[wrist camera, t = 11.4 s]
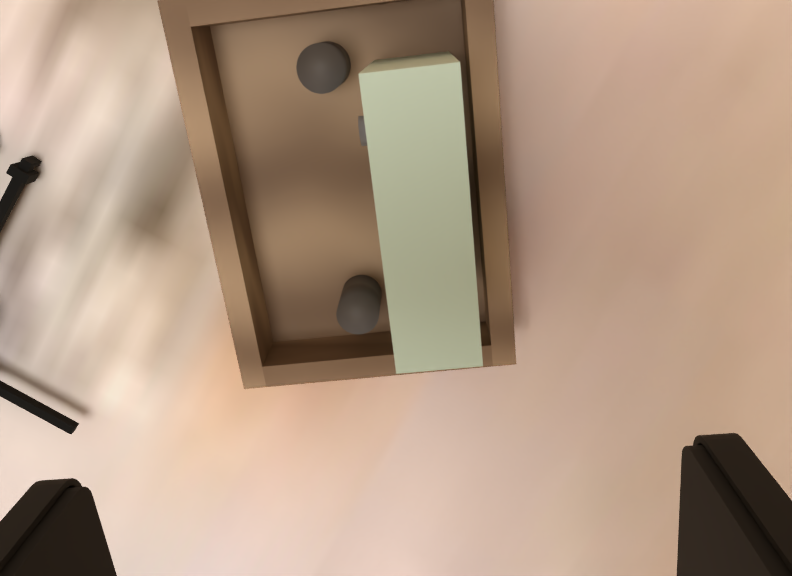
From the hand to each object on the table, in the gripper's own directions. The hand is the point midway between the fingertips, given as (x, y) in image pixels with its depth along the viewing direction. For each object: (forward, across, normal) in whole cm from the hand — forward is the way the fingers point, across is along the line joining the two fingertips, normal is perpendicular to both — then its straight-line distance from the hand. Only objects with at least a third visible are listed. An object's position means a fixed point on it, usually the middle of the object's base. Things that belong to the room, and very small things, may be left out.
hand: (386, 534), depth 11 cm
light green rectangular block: (+20, -1, -2) cm, 21 cm away
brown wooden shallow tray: (+21, +2, -2) cm, 22 cm away
